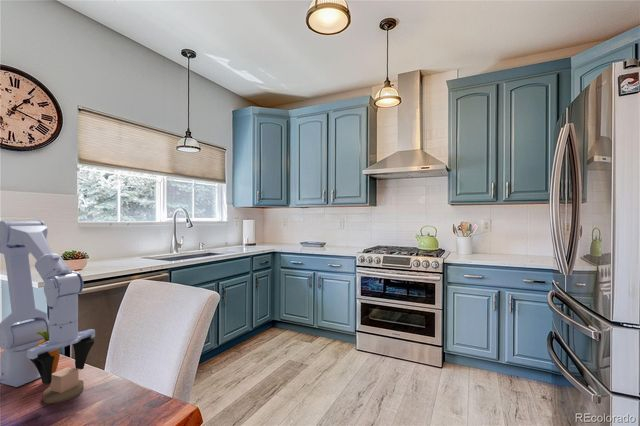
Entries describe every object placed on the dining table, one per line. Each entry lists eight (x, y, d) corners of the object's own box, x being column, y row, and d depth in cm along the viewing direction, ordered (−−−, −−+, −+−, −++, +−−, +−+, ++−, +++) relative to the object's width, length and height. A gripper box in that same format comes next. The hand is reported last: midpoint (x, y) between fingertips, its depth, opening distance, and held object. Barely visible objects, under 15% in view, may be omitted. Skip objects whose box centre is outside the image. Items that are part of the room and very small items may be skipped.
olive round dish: (35, 401, 78) (35, 393, 78) (70, 384, 85) (70, 377, 85) (56, 407, 75) (56, 398, 75) (91, 389, 82) (91, 382, 82)
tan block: (50, 390, 79) (50, 374, 79) (67, 382, 82) (67, 367, 83) (61, 393, 77) (61, 376, 77) (78, 384, 81) (78, 369, 81)
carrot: (46, 386, 83) (46, 329, 84) (31, 384, 84) (31, 328, 85) (65, 377, 88) (65, 323, 89) (50, 375, 89) (50, 322, 90)
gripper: (41, 333, 72) (41, 393, 72) (103, 314, 86) (103, 364, 86) (21, 330, 74) (21, 388, 74) (84, 312, 88) (84, 361, 88)
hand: (63, 375), depth 80 cm, fingers open, 7 cm apart
